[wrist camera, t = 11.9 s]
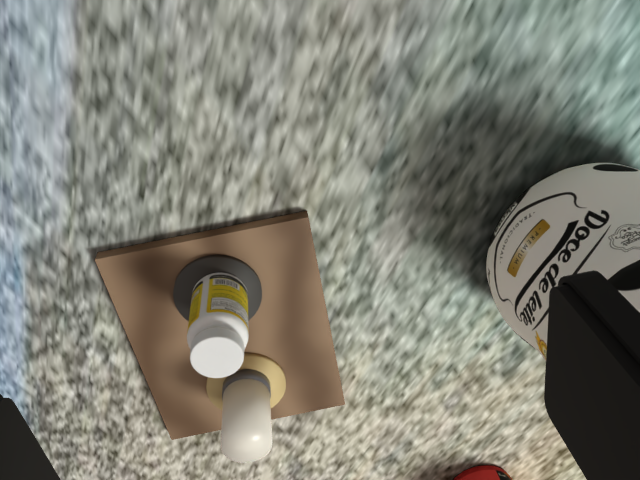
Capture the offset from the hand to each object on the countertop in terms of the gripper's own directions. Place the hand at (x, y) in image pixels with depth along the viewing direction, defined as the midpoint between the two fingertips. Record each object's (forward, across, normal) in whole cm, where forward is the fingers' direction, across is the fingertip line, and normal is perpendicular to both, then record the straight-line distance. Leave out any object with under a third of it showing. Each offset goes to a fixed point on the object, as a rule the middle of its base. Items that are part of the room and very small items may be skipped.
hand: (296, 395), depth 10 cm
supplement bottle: (+35, +8, +20) cm, 41 cm away
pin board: (+36, +8, +26) cm, 45 cm away
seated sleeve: (+34, +8, +32) cm, 47 cm away
